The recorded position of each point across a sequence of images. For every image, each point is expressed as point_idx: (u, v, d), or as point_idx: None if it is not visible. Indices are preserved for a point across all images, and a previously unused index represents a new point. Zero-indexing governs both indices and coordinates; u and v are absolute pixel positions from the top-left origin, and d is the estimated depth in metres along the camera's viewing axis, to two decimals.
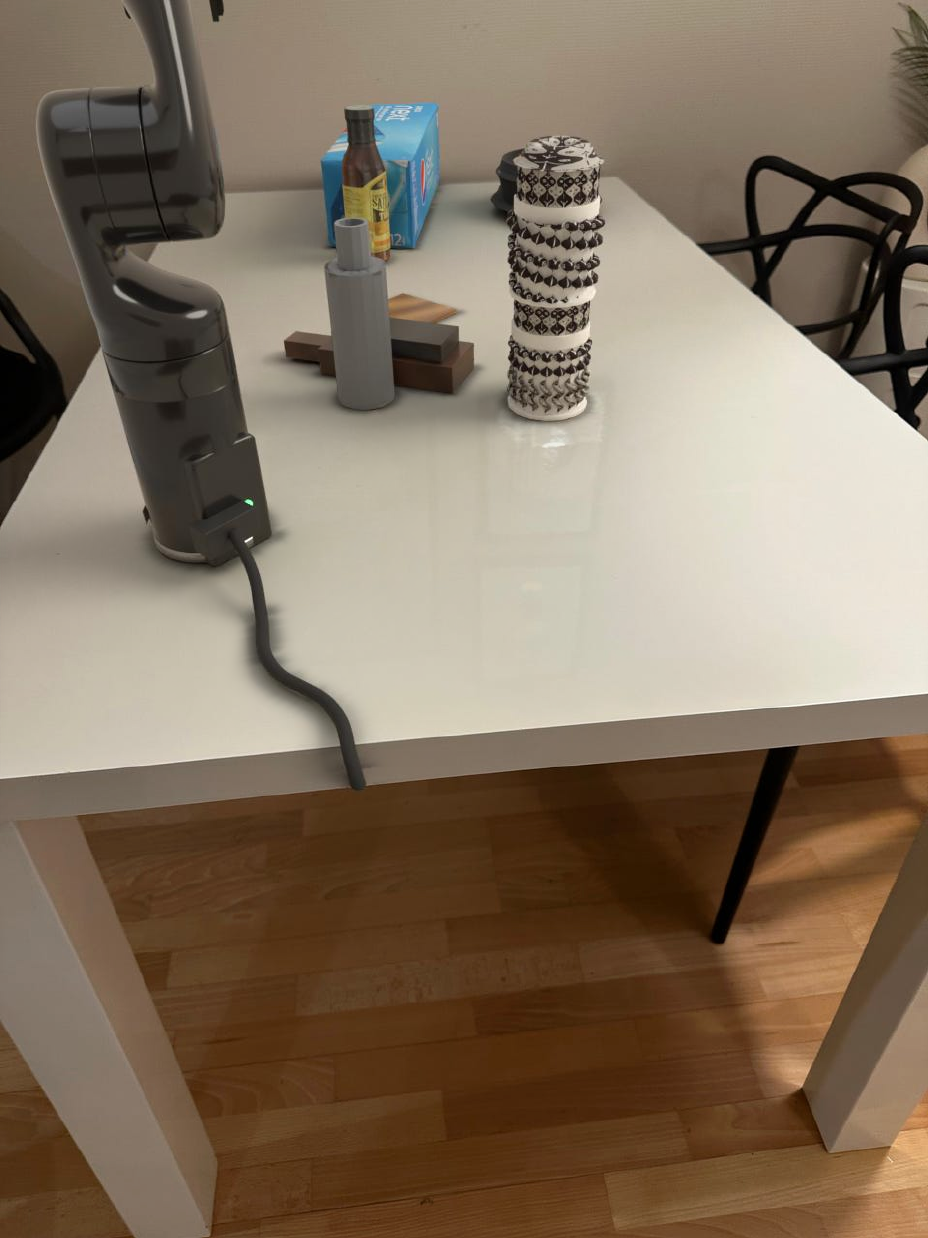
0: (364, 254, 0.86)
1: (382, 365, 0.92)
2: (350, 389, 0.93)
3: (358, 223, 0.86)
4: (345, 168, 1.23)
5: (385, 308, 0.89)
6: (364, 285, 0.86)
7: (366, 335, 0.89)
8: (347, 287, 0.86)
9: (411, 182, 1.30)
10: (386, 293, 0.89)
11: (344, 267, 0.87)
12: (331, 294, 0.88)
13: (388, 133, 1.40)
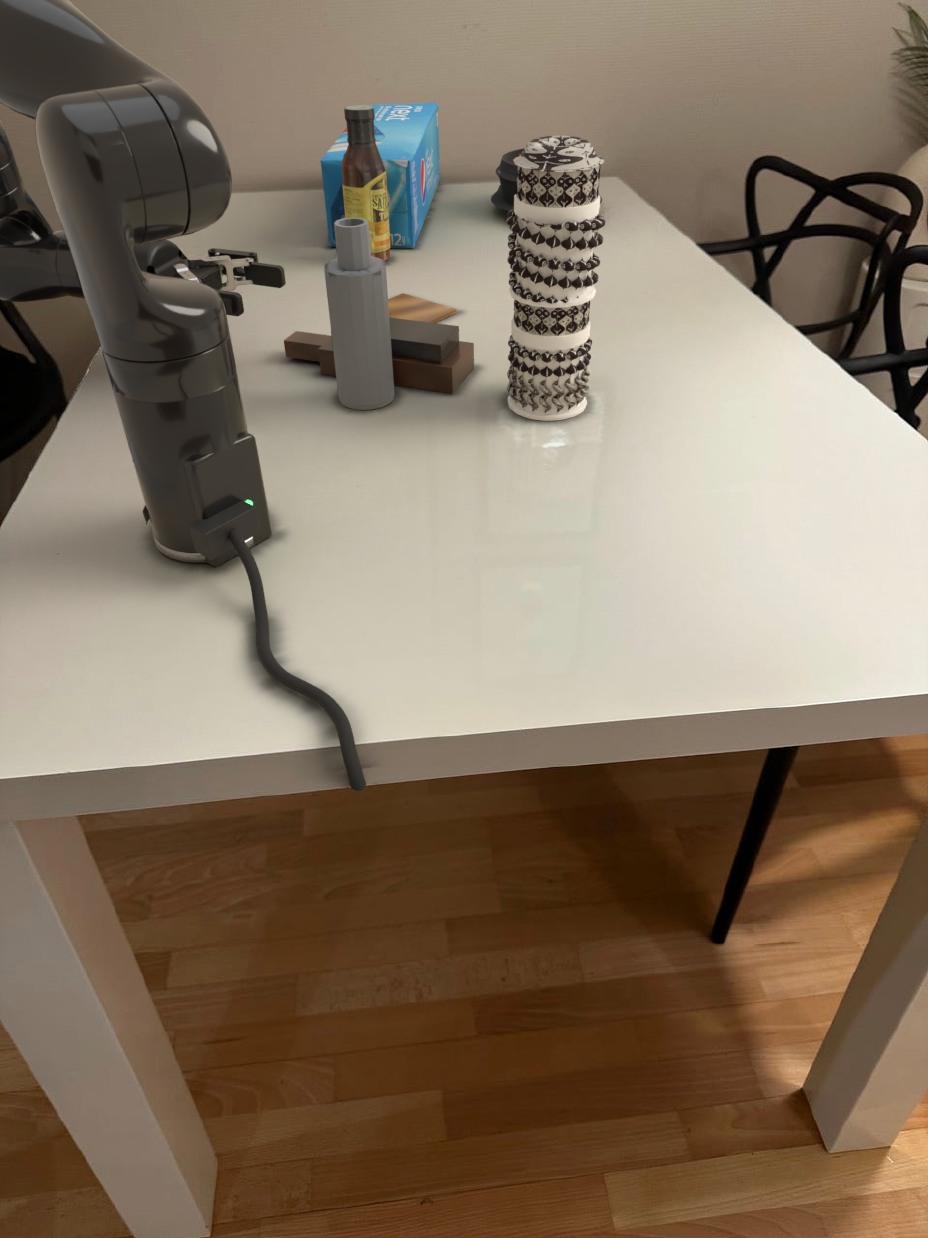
0: (364, 254, 0.86)
1: (382, 365, 0.92)
2: (350, 389, 0.93)
3: (358, 223, 0.86)
4: (345, 168, 1.23)
5: (385, 308, 0.89)
6: (364, 285, 0.86)
7: (366, 335, 0.89)
8: (347, 287, 0.86)
9: (411, 181, 1.30)
10: (386, 293, 0.89)
11: (344, 267, 0.87)
12: (331, 294, 0.88)
13: (388, 133, 1.39)
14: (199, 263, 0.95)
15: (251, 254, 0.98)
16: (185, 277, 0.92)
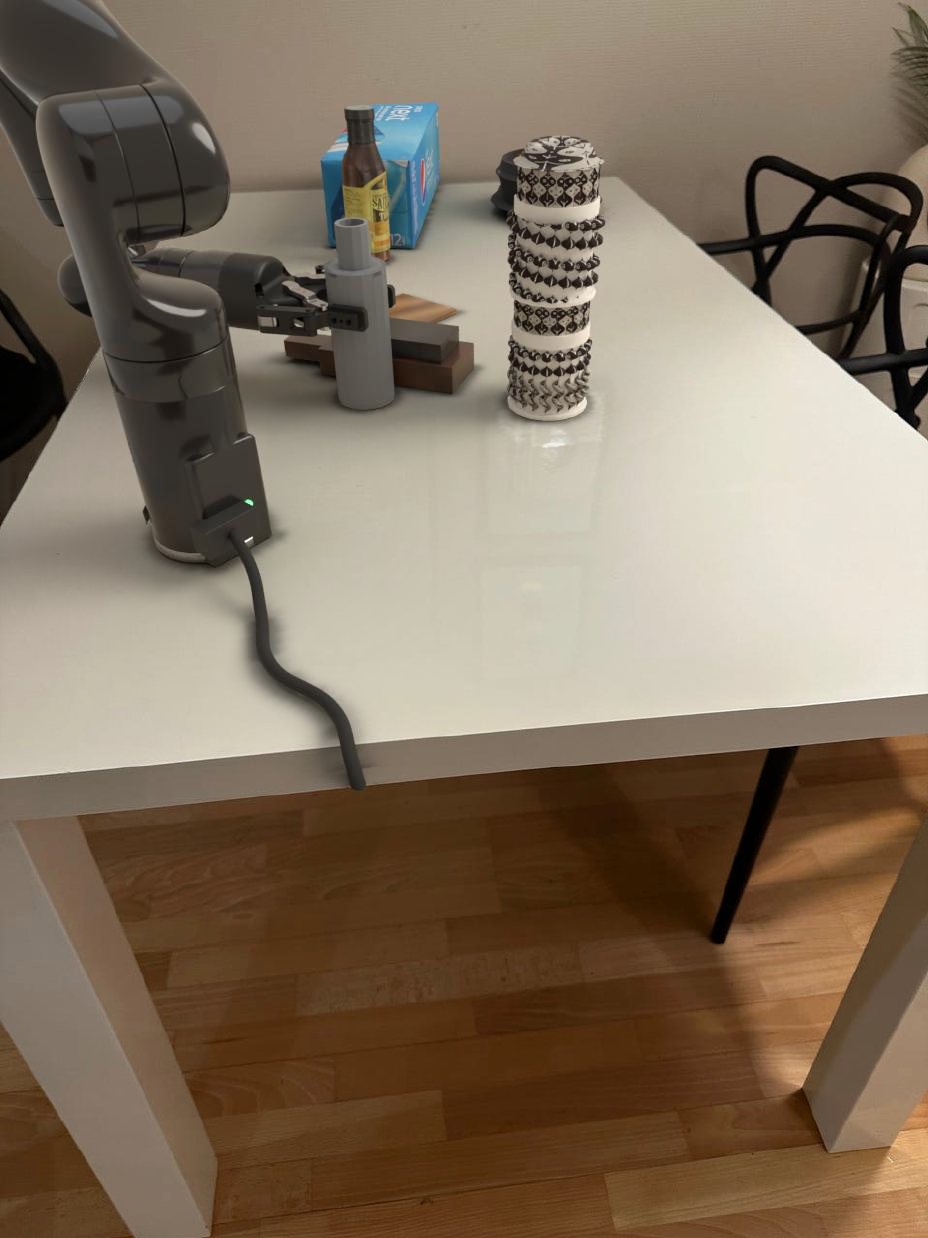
0: (364, 254, 0.86)
1: (382, 365, 0.92)
2: (350, 389, 0.93)
3: (358, 223, 0.86)
4: (345, 167, 1.23)
5: (385, 308, 0.89)
6: (364, 285, 0.86)
7: (366, 335, 0.89)
8: (347, 287, 0.86)
9: (411, 181, 1.30)
10: (386, 293, 0.89)
11: (344, 267, 0.87)
12: (331, 294, 0.88)
13: (388, 133, 1.39)
14: (306, 280, 0.92)
15: None
16: (302, 293, 0.88)
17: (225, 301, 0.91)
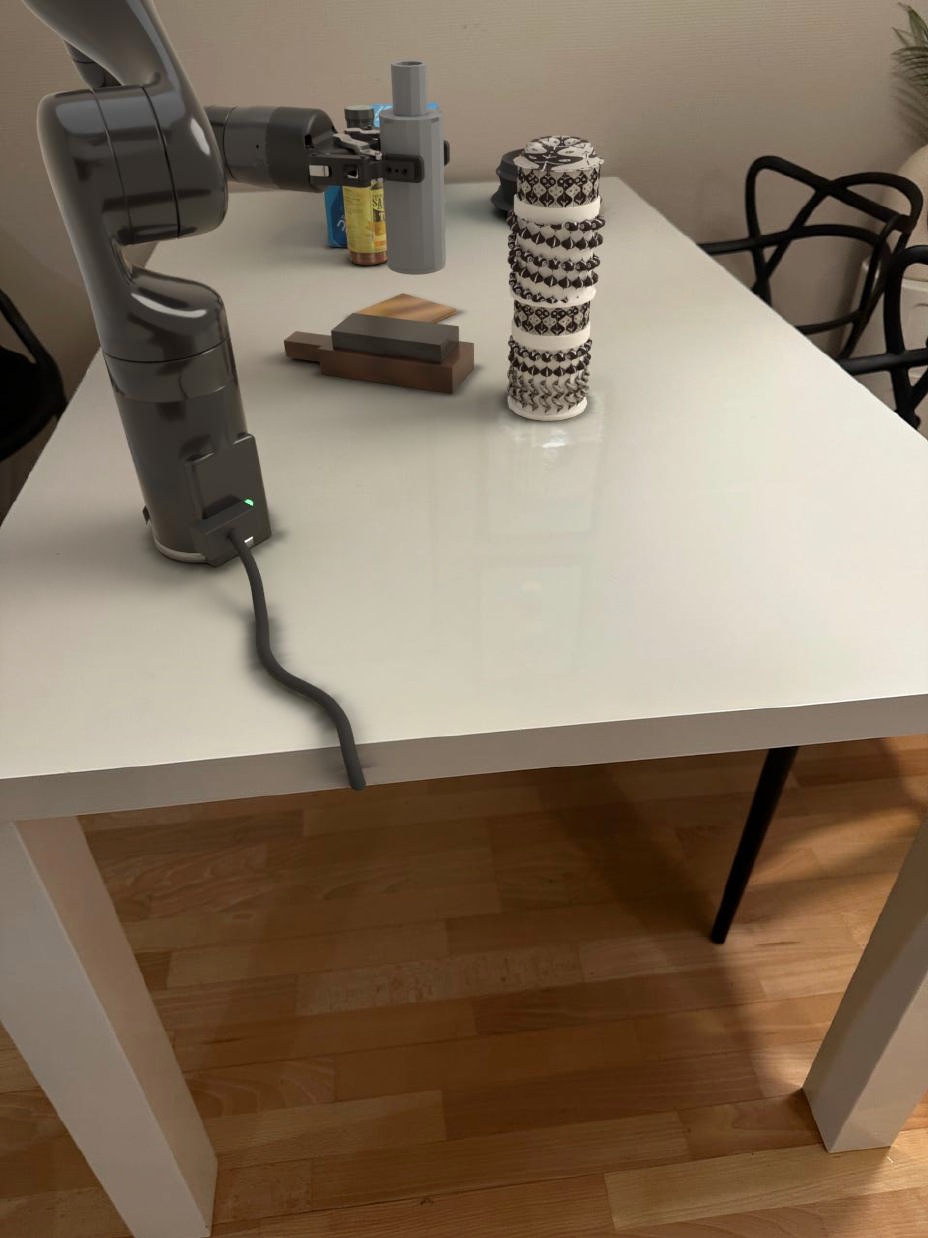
0: (422, 98, 0.82)
1: (436, 225, 0.89)
2: (402, 251, 0.89)
3: None
4: None
5: (441, 161, 0.86)
6: (422, 131, 0.82)
7: (421, 189, 0.86)
8: (404, 133, 0.82)
9: None
10: (442, 144, 0.85)
11: (400, 113, 0.83)
12: (386, 143, 0.84)
13: None
14: (357, 135, 0.88)
15: None
16: (355, 143, 0.84)
17: (273, 155, 0.87)
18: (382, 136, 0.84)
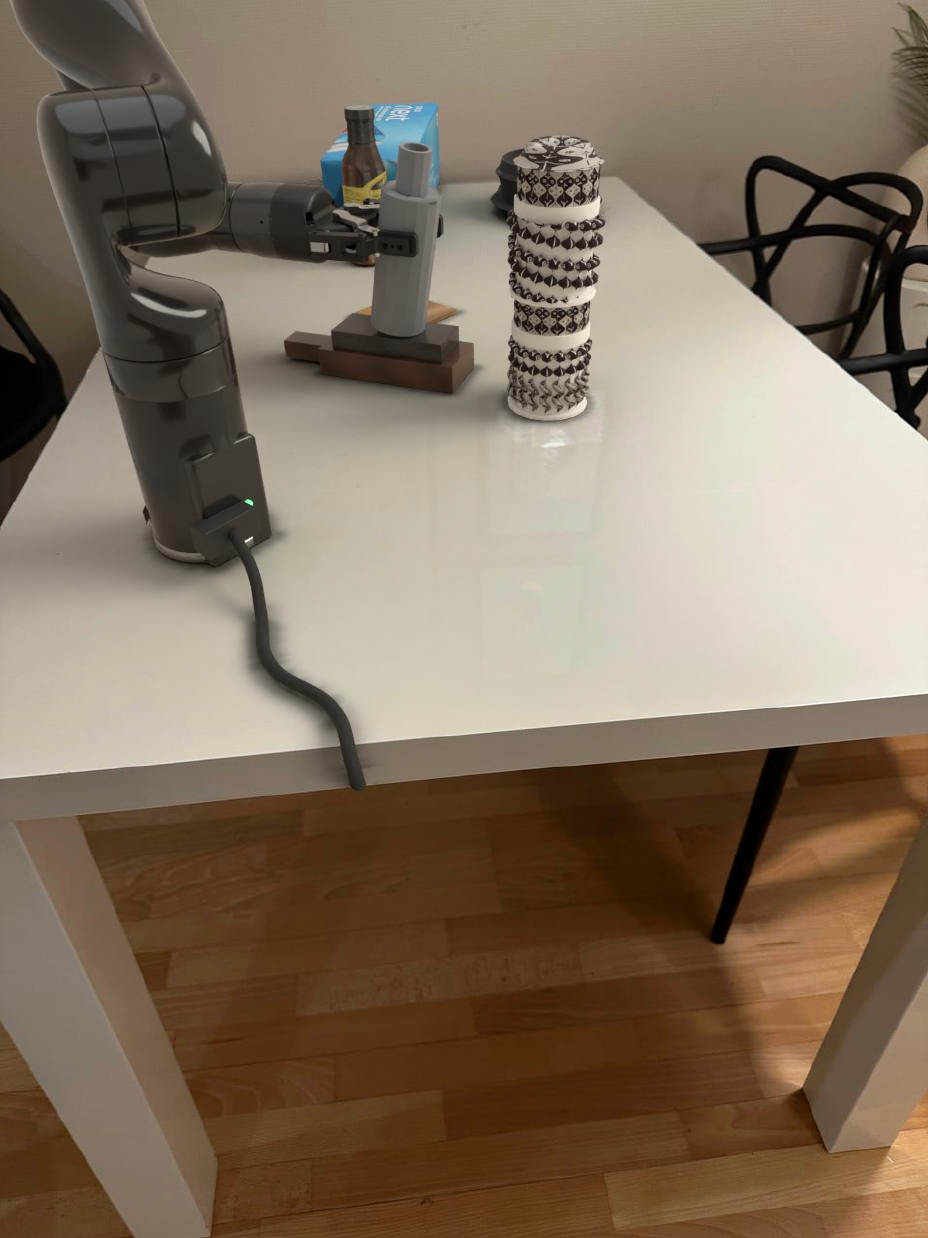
0: (423, 181, 0.87)
1: (420, 295, 0.94)
2: (385, 313, 0.95)
3: (422, 149, 0.87)
4: (345, 167, 1.23)
5: (433, 239, 0.91)
6: (419, 212, 0.87)
7: (410, 262, 0.91)
8: (402, 211, 0.87)
9: None
10: (437, 224, 0.90)
11: (401, 191, 0.87)
12: (384, 215, 0.89)
13: (388, 133, 1.39)
14: (356, 210, 0.93)
15: None
16: (354, 220, 0.90)
17: (276, 230, 0.92)
18: (381, 208, 0.89)
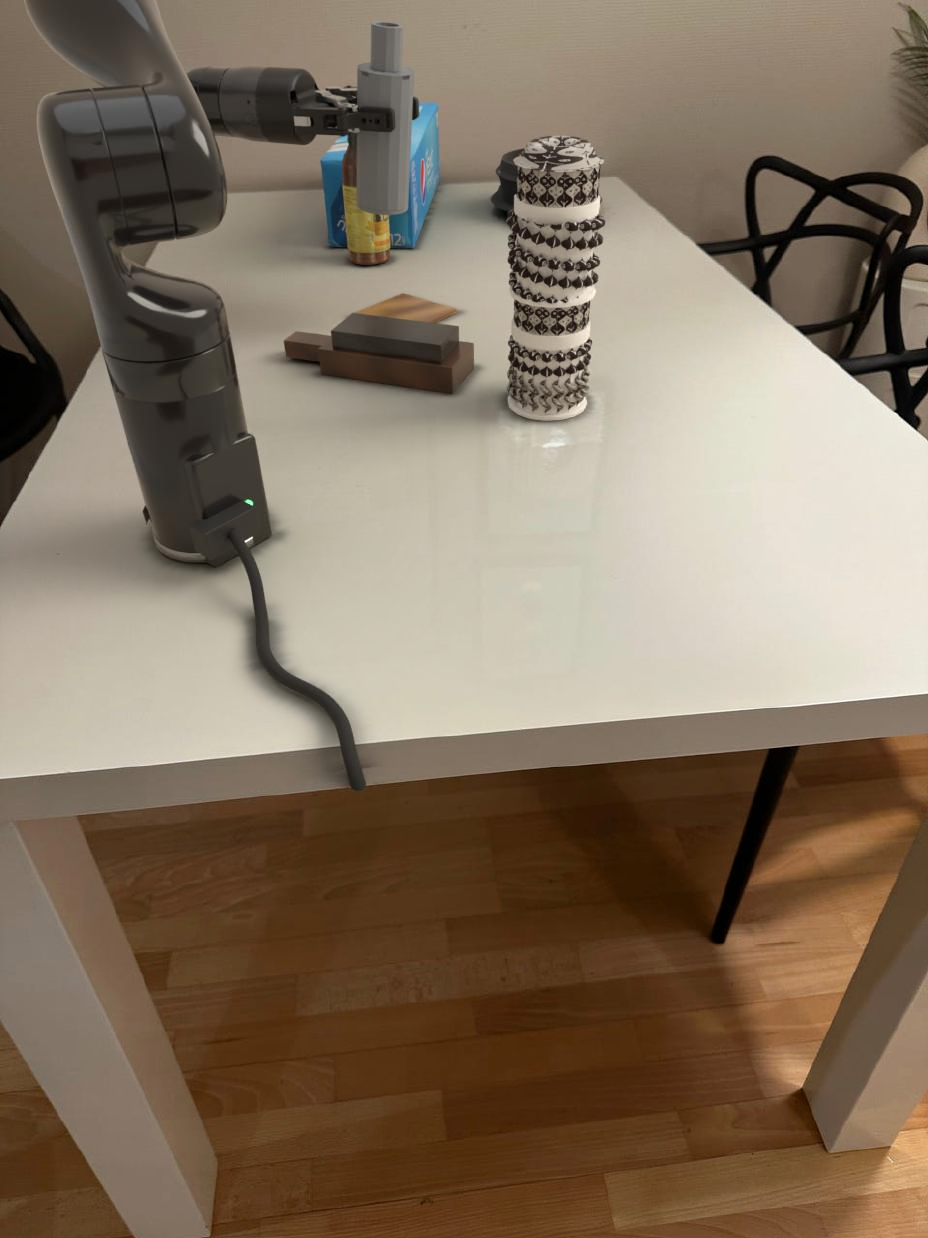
0: (396, 57, 0.94)
1: (400, 172, 1.00)
2: (368, 192, 1.01)
3: None
4: (345, 167, 1.23)
5: (409, 115, 0.97)
6: (393, 86, 0.94)
7: (389, 138, 0.97)
8: (377, 86, 0.94)
9: (411, 181, 1.30)
10: (411, 100, 0.97)
11: (376, 67, 0.94)
12: (361, 93, 0.95)
13: None
14: (337, 92, 1.00)
15: None
16: (334, 97, 0.96)
17: (262, 109, 0.99)
18: (359, 86, 0.95)
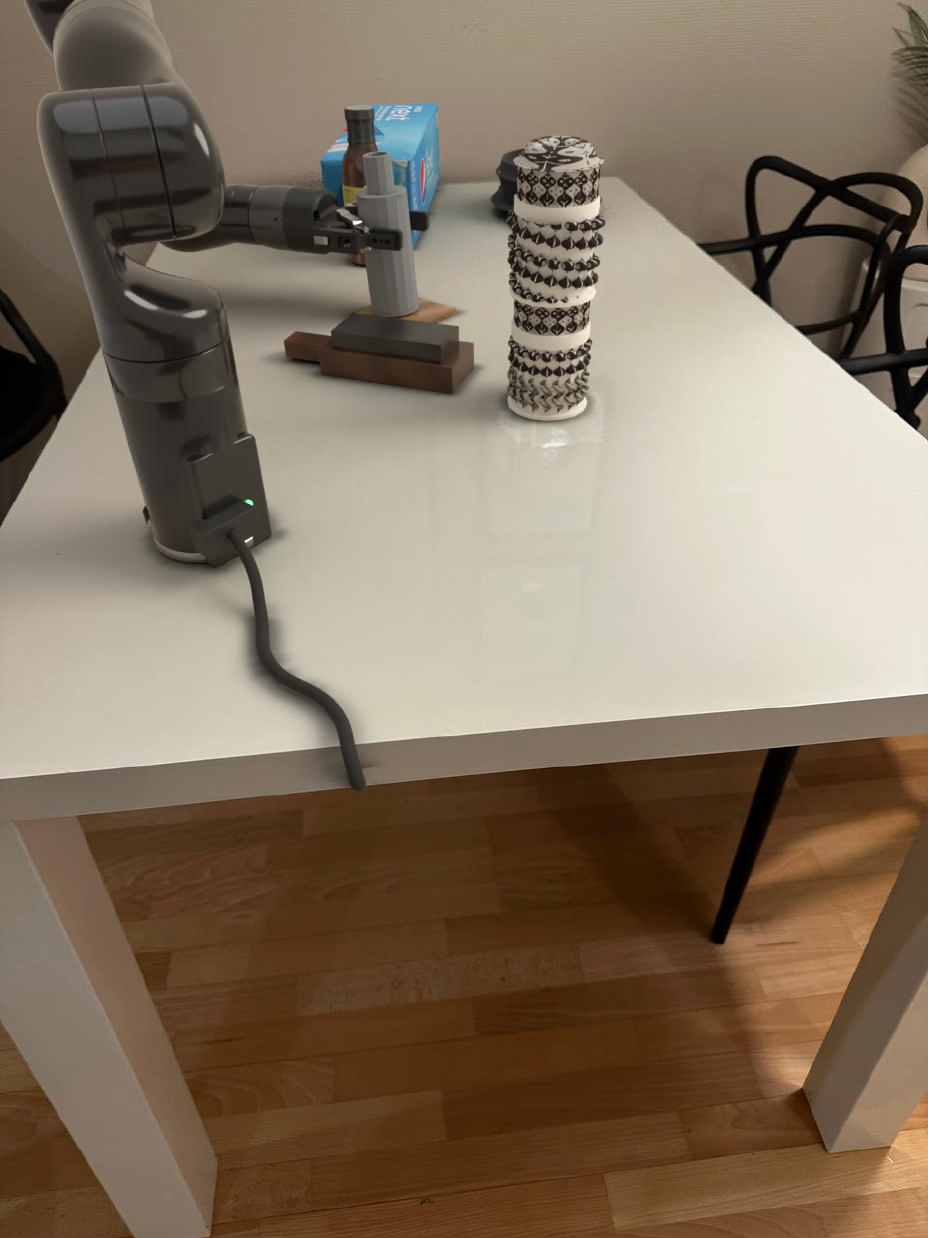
0: (388, 180, 1.04)
1: (407, 277, 1.10)
2: (381, 299, 1.11)
3: None
4: (345, 167, 1.23)
5: (407, 227, 1.08)
6: (389, 205, 1.05)
7: (392, 250, 1.08)
8: (375, 208, 1.05)
9: (411, 181, 1.30)
10: (407, 214, 1.07)
11: (372, 192, 1.05)
12: (362, 216, 1.06)
13: (388, 133, 1.39)
14: (355, 209, 1.10)
15: None
16: (350, 218, 1.06)
17: (288, 226, 1.09)
18: (359, 211, 1.06)
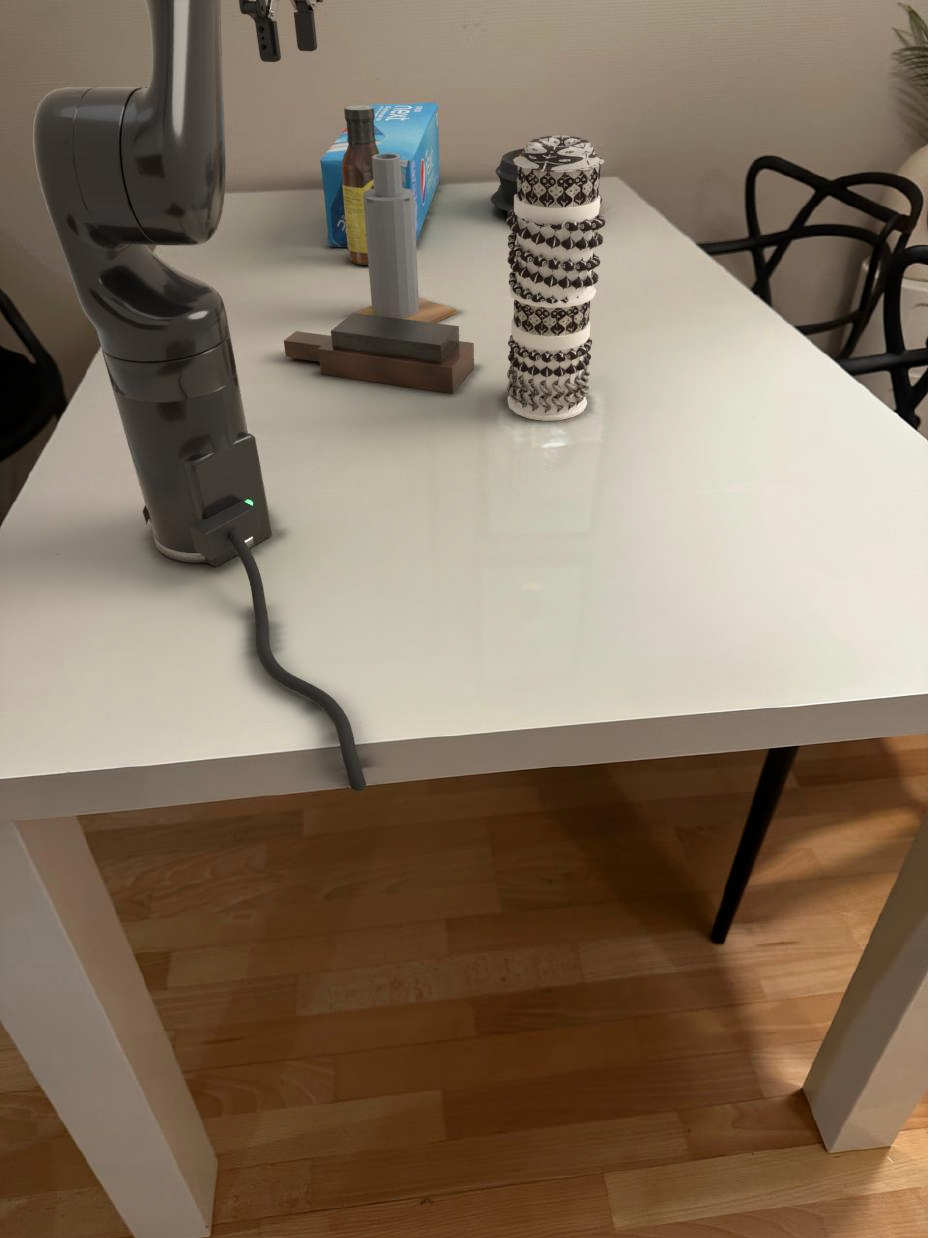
0: (396, 183, 1.04)
1: (409, 280, 1.10)
2: (382, 301, 1.11)
3: (392, 158, 1.05)
4: (345, 167, 1.23)
5: (412, 230, 1.08)
6: (396, 209, 1.04)
7: (396, 253, 1.08)
8: (382, 210, 1.04)
9: (410, 181, 1.30)
10: (413, 218, 1.07)
11: (379, 194, 1.05)
12: (368, 217, 1.06)
13: (388, 133, 1.39)
14: None
15: None
16: None
17: None
18: (365, 212, 1.06)
